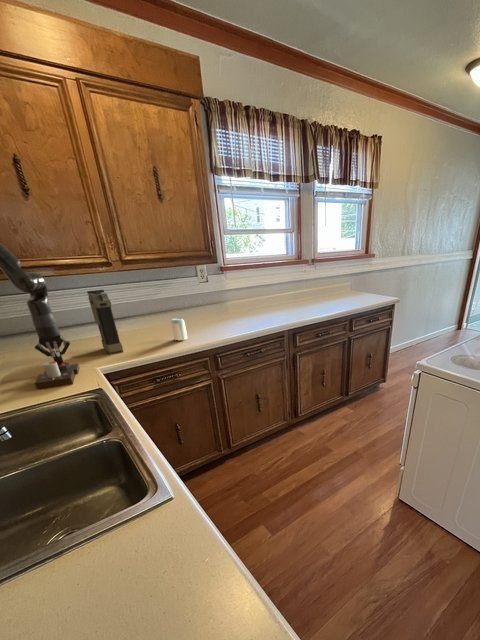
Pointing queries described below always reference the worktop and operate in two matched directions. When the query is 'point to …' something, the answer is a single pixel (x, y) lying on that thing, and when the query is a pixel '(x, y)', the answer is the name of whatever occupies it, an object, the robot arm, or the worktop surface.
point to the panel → (55, 380)
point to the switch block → (68, 368)
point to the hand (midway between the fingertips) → (60, 364)
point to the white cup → (52, 369)
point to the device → (105, 321)
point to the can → (179, 329)
